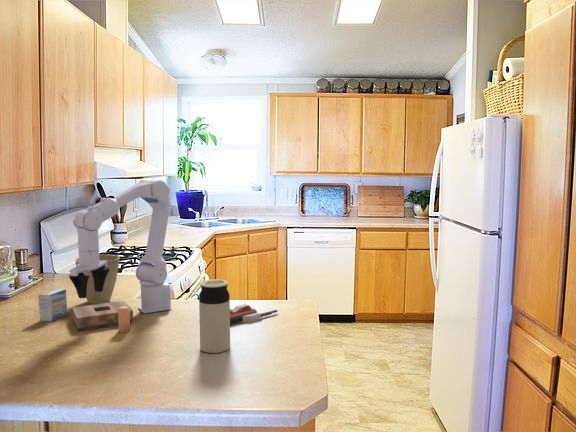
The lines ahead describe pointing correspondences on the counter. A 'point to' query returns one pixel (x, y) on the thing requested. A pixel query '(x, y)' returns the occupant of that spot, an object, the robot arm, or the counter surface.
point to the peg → (124, 319)
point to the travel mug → (214, 316)
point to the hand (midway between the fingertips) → (90, 294)
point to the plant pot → (109, 282)
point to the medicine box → (52, 305)
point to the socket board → (98, 315)
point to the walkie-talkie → (246, 314)
